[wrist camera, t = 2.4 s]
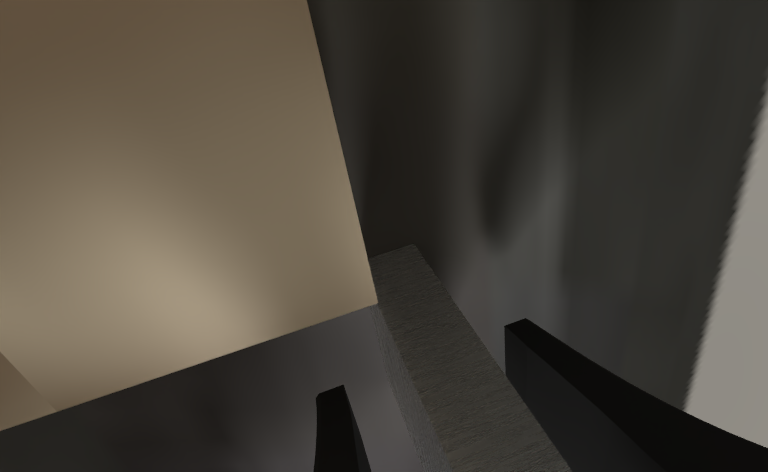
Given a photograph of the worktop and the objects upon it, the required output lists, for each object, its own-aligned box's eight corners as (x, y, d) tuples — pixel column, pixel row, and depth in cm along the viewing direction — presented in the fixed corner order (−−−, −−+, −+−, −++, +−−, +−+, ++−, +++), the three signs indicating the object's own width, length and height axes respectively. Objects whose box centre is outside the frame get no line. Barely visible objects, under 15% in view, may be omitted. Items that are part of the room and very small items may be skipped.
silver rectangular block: (433, 365, 15) (565, 615, 9) (388, 381, 14) (494, 650, 9) (413, 243, 12) (585, 490, 6) (358, 261, 12) (482, 535, 6)
